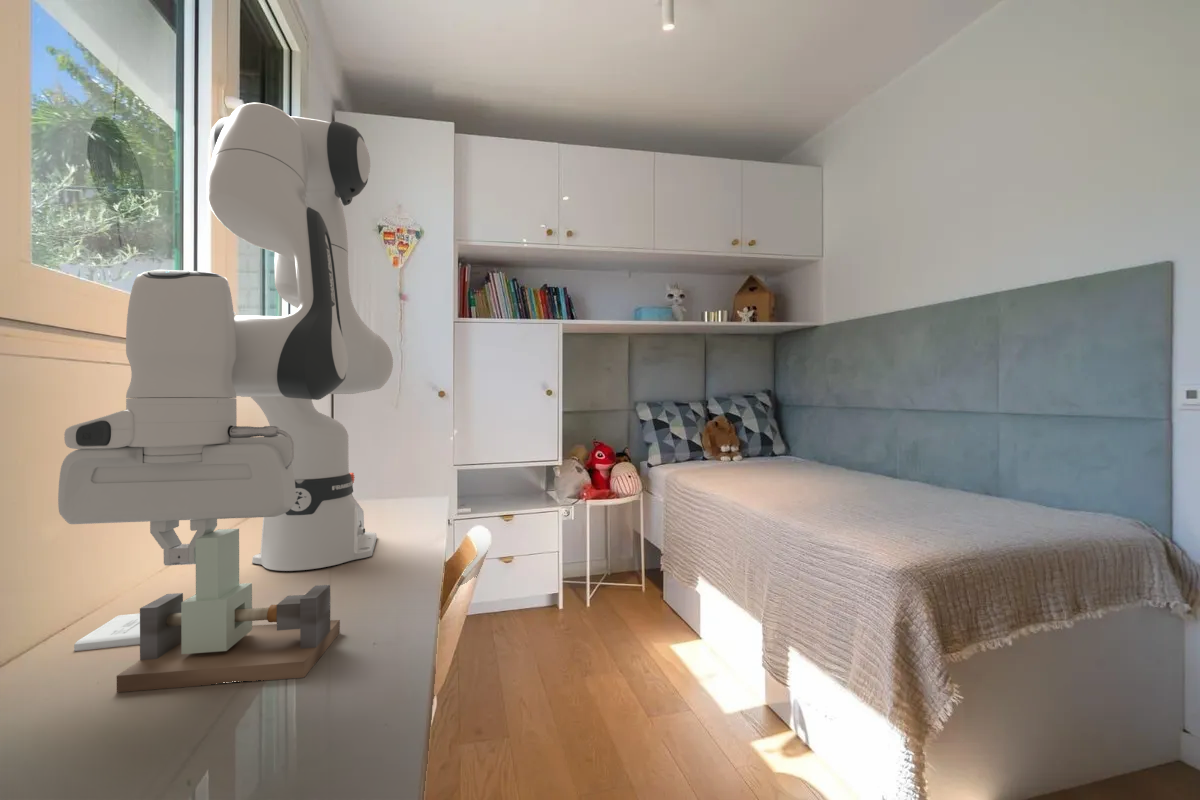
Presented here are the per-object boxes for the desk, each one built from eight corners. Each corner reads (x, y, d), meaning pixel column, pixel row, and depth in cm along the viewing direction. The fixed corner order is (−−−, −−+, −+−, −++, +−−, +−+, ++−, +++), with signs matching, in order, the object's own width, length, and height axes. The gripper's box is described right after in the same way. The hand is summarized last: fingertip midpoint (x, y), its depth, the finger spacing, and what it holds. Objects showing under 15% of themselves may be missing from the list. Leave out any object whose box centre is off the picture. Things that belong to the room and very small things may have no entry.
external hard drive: (208, 642, 60) (73, 656, 57) (236, 614, 68) (120, 626, 65) (208, 627, 60) (73, 641, 57) (236, 601, 68) (120, 612, 65)
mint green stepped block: (211, 632, 56) (210, 528, 57) (252, 629, 57) (251, 527, 57) (181, 654, 51) (181, 540, 52) (226, 650, 52) (226, 538, 52)
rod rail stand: (185, 643, 58) (185, 584, 58) (339, 632, 61) (339, 575, 61) (116, 692, 48) (116, 620, 48) (304, 677, 51) (303, 609, 51)
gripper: (305, 424, 59) (306, 550, 58) (97, 427, 56) (98, 559, 56) (279, 426, 52) (280, 567, 52) (43, 430, 49) (44, 579, 49)
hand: (184, 563), depth 54 cm, fingers closed
